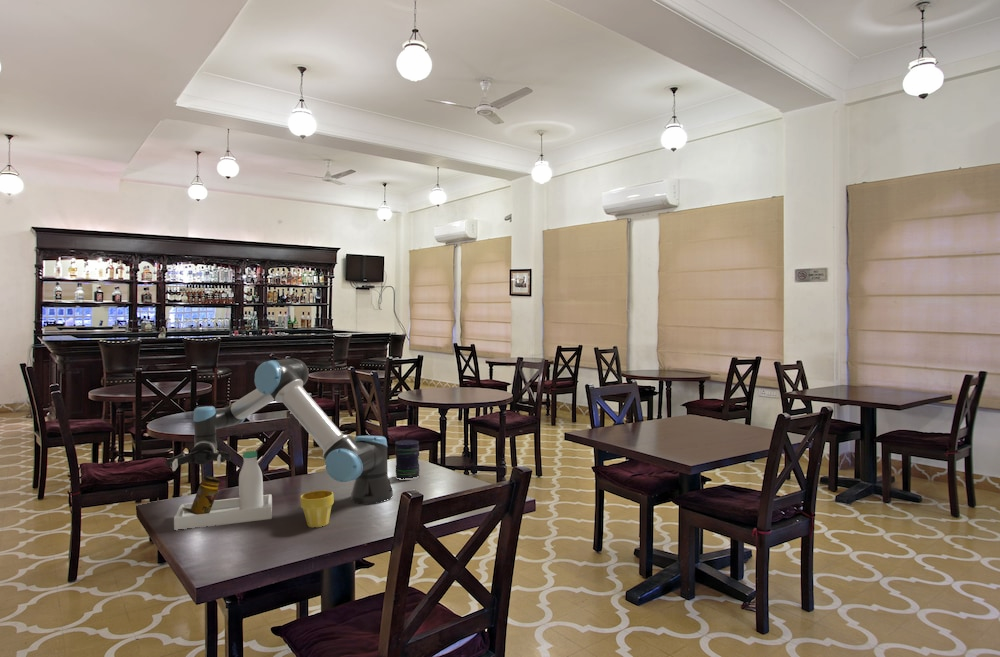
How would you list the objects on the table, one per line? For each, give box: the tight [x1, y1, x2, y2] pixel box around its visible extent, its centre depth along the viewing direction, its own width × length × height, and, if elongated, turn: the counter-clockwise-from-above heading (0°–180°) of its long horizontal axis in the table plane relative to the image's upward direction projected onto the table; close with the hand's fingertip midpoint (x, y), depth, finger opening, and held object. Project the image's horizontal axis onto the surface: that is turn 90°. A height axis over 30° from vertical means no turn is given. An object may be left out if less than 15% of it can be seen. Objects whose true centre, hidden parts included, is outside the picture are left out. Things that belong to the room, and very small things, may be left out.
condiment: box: [182, 475, 221, 515], centre depth 203 cm, size 7×8×12 cm
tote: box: [173, 493, 273, 531], centre depth 205 cm, size 29×16×4 cm, turn 110°
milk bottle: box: [238, 450, 264, 510], centre depth 210 cm, size 8×8×20 cm
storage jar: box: [394, 439, 420, 479], centre depth 252 cm, size 10×10×15 cm
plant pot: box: [300, 489, 335, 528], centre depth 196 cm, size 10×10×10 cm
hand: (196, 464), depth 204 cm, fingers open, 13 cm apart
